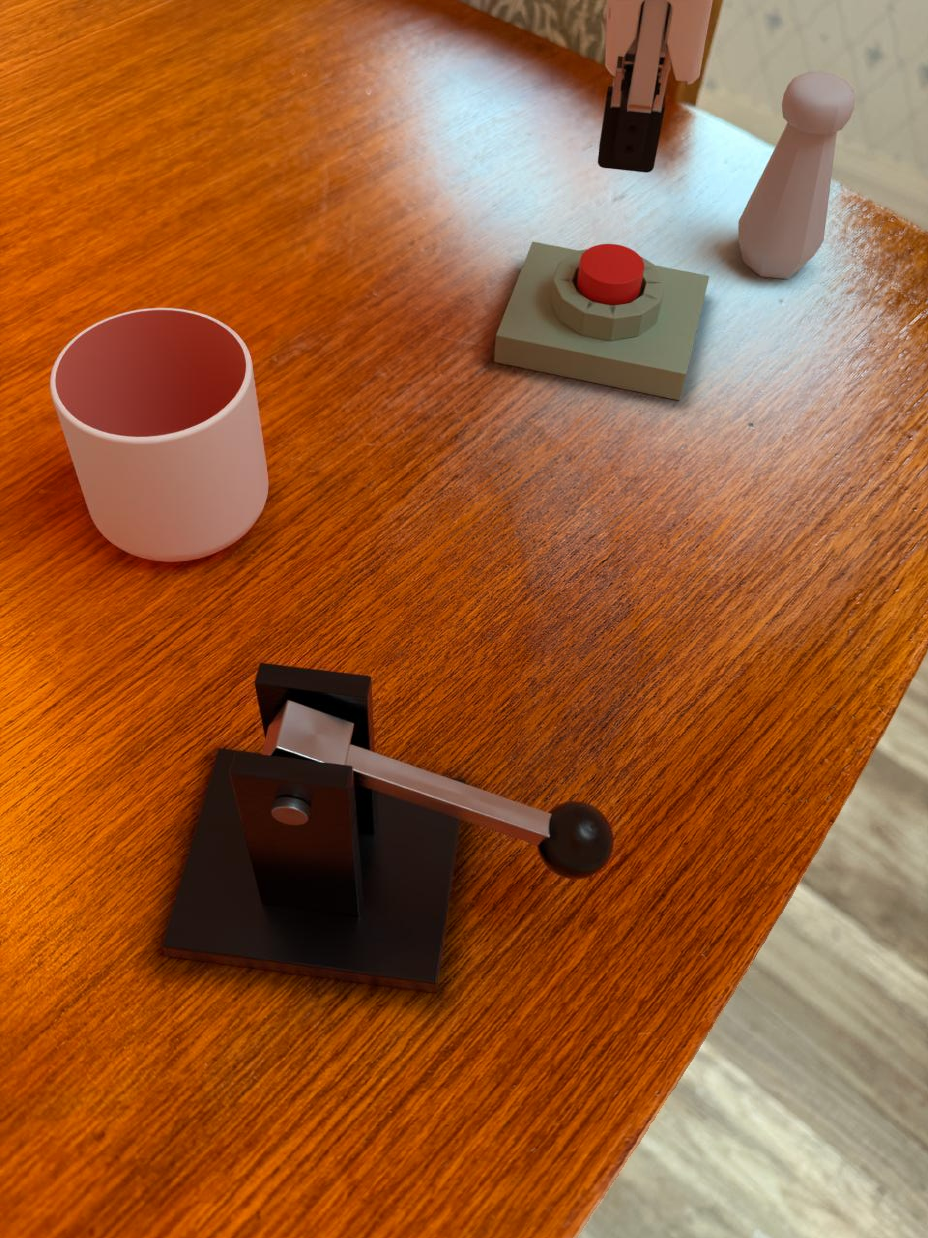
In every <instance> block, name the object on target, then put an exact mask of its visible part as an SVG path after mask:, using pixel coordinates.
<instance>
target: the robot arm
mask: <svg viewBox="0 0 928 1238" xmlns="http://www.w3.org/2000/svg"><path fill="white" fill-rule="evenodd" d="M713 2H714V0H606V23H605V26H606V27H605V68H606V69H607V71H608V72H609V73H610V74H611V75H612V77H613V78H612V86H609V85H608V86H607V89H606V97H605V104H604V109H603V110H604V111H603V117H602V125H601V131H600V137H599V144H598V156H597V164H598V166H599V167H600V168H602V169H608V170H609V169H610V170H619V171H629V172H638V173H646V174H647V173H650V172H652V171H653V170H654V169H655V164H656V158H657V157H656V156H657V153H658V147H659V142H660V138H661V137H660V136H661V131H662V126H663V120H664V116H665V111H666V96H667V95H666V94H667V93H666V89H667V83H668V78H669V74H670V71H671V66H672V71H673V75H674V78H675V81H678V82H685V84H686V85H691V84H693V83H695V82H696V81H697V80H698V79H699V78H700V75H701V69H702V65H703V63H702V62H703V58H704V52H705V47H706V39H707V34H708V29H709V23H710V18H711V12H712V7H713Z"/></svg>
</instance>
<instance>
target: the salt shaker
mask: <svg viewBox="0 0 928 1238" xmlns="http://www.w3.org/2000/svg"><path fill="white" fill-rule="evenodd" d="M855 101H856V96H855V92H854V89H853V87H852V85H851V84H850V83H849V82H848V81H847V80H846V79H845V78H843V77H841V76H839V75H837V74H834V73H831V72H826V71H822V70H818V71H807V72H804V73H801V74H799V75H797V76H795V77H793V78H792V80H791V81H789V83H788V84H787V85H786V89H784V93H783V96H782V101H781V111H782V113H781V114H782V118H783V119H784V120H785V122H786V124H785V127H784V129H783V131H782V133H781V134H780V137H779V140H778V141H777V143H776V146H775V147H774V149H773V151H772V153H771V155H770V157H769V159H768V162H767V164H766V165H765V167H764V169H763V171H762V174H761V176H760V177H759V180H758V181H757V183H756V185H755V187H754V189H753V191H752V194H751V195H750V197H749V200H748V201H747V203H746V206H745V207H744V209H743V211H742V213H741V215H740V217H739V220H738V223H737V224H738V225H737V235H738V236H737V239H738V245H739V248H740V253H741V257H742V262H743V263H744V264H745V265H746V266H747V267H748V268H750V269H751V271H753V272H755V273H756V274H757V275H758V276H759V277H761V278H762V277H763V278H772V279H773V278H774V279H782V280H783V279H785V280H787V279H790V278H791V277H792V276H793V275H795V274H796V273H797V272H798V271H800V270H801V269H803V268H804V266H805V265H807V263H808V262H809V261H810V260H811V259H812V258H814V256H815V255H816V254H817V252H818V251H819V250H820V248H821V246H822V244H823V242H824V240H825V233H826V232H825V231H826V225H827V217H828V216H827V215H828V208H829V202H830V201H829V199H830V191H831V185H832V176H833V169H834V159H835V153H836V145H837V144H836V143H837V135H838V132H839V131H842V130H843V129H844V128H845V126H846V125H847V124H848V122H849V121H850V119H851V118H852V114H853V112H854V108H855Z"/></svg>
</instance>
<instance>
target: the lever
mask: <svg viewBox="0 0 928 1238" xmlns="http://www.w3.org/2000/svg"><path fill="white" fill-rule="evenodd" d="M353 728H354V723H353V722H351V721H348V720H345V719H342V718H340V717H337V716H334V715H331V714H328V713H325V712H323V711H320V710H317V709H314V708H311V707H309V706H306V705H303V704H300V703H297V702H294V701H292V700H287V701H286V703H285V704H284V706H283V707H282V708H281V710H280V711H279V713H278V714H277V715H276V717H275V718H274V720H273V721H272V722H271V724H270V725H269V727H268V731H267V735H266V739H265V738H264V743H263V747H262V750H261V754H262V755H270V756H277V757H285V758H293V759H301V760H309V761H317V762H325V763H333V764H340V765H348V766H352V767H353V776H354V784H357V785H360V786H363V787H366V788H369V789H372V790H375V791H378V792H381V793H384V794H387V795H390V796H393V797H396V798H399V799H401V800H404V801H407V802H410V803H413V804H416V805H419V806H422V807H425V808H428V809H431V810H434V811H437V812H440V813H443V814H446V815H449V816H452V817H455V818H458V819H461V821H464V822H466V823H470V824H473V825H476V826H479V827H481V828H484V829H488V830H490V831H492V832H496V833H499V834H503V835H506V836H508V837H511V838H514V839H517V840H520V841H523V842H525V843H529V844H531V845H535V846H536V849H537V853H538V855H539V857H540V859H541V861H542V862H543V864H544V865H545V867H546V868H548V869H549V871H551V872H552V873H553V874H555V875H557V876H559V877H561V878H563V879H568V880H585V879H587V878H590V877H592V876H594V875H597V874H598V873H599V872H600V871H602V870H603V869H604V868H605V866H607V864H608V862H609V861H610V858H611V857H612V854H613V852H614V851H613V850H614V846H615V845H614V844H615V839H614V837H615V836H614V831H613V828H612V826H611V823H610V821H609V820H608V818H607V817H606V816H605V814H604V813H603V812H602V811H601V810H600V809H599V808H597V807H596V806H594V805H592V804H590V803H587V802H585V801H578V800H576V801H575V800H571V801H564V802H562V803H558V804H557V805H555V806H553V807H552V808H551V809H549V810H548V811H545V810H542V809H539V808H536V807H533V806H530V805H528V804H525V803H522V802H520V801H519V802H518V801H516V800H514V799H511V798H508V797H504V796H502V795H499V794H495V793H494V792H491V791H487V790H485V789H482V788H480V787H479V788H478V787H476V786H472V785H469V784H467V783H466V784H464V783H462V782H459V781H456V780H453V779H450V778H451V777H450V778H447V777H448V776H444V775H441V774H440V773H439V774H438V773H435V772H433V771H430V770H427V769H424V768H421V767H419V766H416V765H413V764H410V763H407V762H404V761H401V760H399V759H395V758H392V757H390V756H387V755H383V754H381V753H378V752H376V751H375V752H372V751H370V750H367V749H364V748H361V747H358V746H355V745H352V744H350V742H351V737H352V733H353Z"/></svg>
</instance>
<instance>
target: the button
mask: <svg viewBox="0 0 928 1238" xmlns="http://www.w3.org/2000/svg"><path fill="white" fill-rule="evenodd" d="M586 249H587V250H586V251H585V252H584V253H583V254H582V256H581V258H580V264H579V271H578V279H577V287H578V290H579V292H580V293H581V295H582V296H584V297H585V298H587V299H589V300H590V301H592V302H596V303H601V304H606V305H611V306H614V305H621V304H628V303H630V302H632V301H633V300H635V299H636V298H637V296H638V295H639V293H640V288H641V283H642V278H643V272H644V262H643V260H642V258H643V257H642V256H641V255H640V254H639V253H638V252H637V251H636V250H633V249H631V248H630V247H628V246H624V245H621V244H617V243H600V244H596V245H593V246H591V247H589V248H586ZM640 256H641V257H642V258H641V257H640Z"/></svg>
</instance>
